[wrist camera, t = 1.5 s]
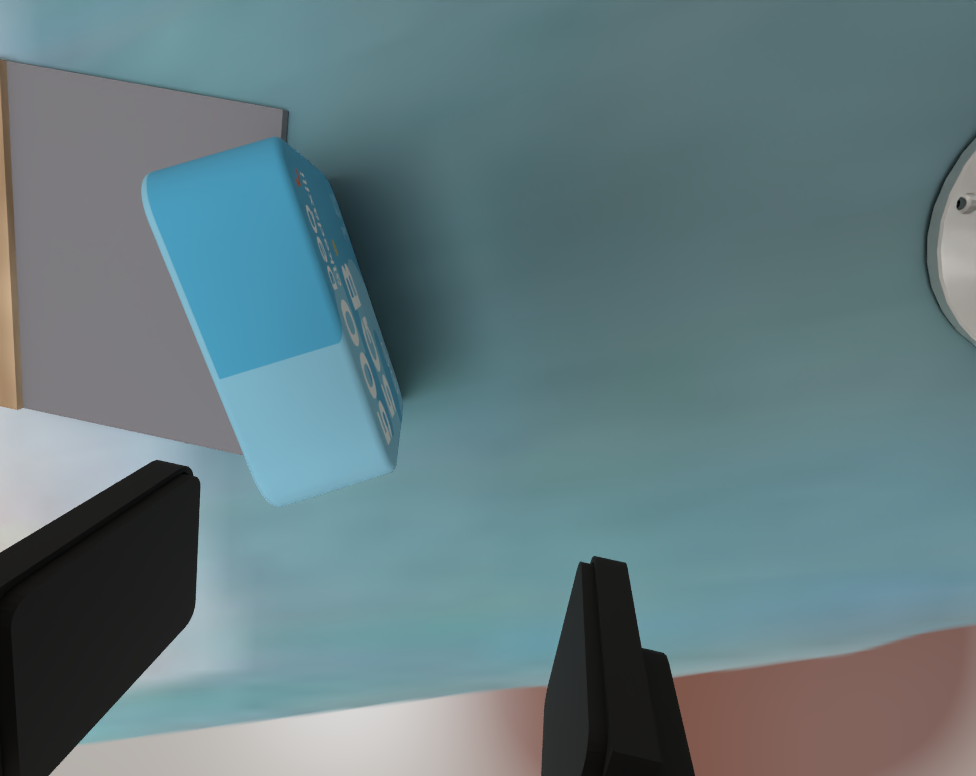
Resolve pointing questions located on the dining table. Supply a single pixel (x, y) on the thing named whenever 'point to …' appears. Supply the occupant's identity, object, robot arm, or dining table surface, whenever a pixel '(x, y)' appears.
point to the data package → (279, 316)
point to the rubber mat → (111, 249)
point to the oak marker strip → (8, 267)
